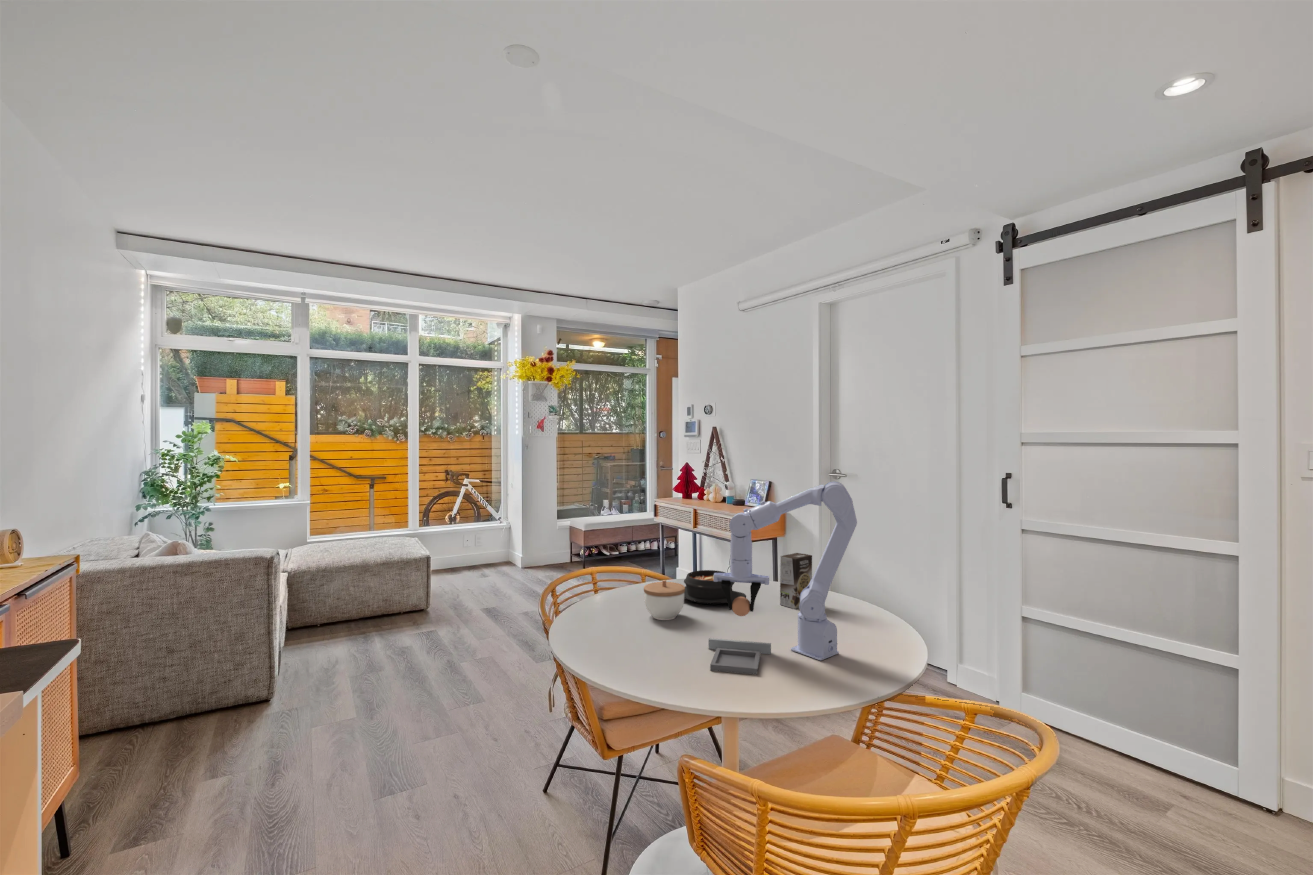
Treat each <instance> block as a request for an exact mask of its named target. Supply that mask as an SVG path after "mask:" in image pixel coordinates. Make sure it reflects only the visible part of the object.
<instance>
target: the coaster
mask: <svg viewBox="0 0 1313 875" xmlns="http://www.w3.org/2000/svg"><path fill="white" fill-rule="evenodd" d="M760 660H761V653H760V652H759V651H747V650H736V649H724V648H716V650H714V654H713V656H712V659H711V662H710V666H709V670H710V671H715V672H723V673H736V674H746V675H754V676H755V675H758V672H759V667H760V666H759V665H760Z"/></svg>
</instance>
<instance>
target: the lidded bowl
mask: <svg viewBox="0 0 1313 875" xmlns="http://www.w3.org/2000/svg"><path fill="white" fill-rule="evenodd" d="M643 595H644V596H643V597H644V598H643V600H644V605H645V607H646V610H647V612H648V613H649V614H650V615H651V616H652V618H653V619H655V620H659V621H670V620H675V619H676V618H677V616H678V615H679V614H680V613H681V611H682V610H683V607H684V604H685V603H684V602H685V598H684V596H685V585H684V584H682V583H678V582H674V581H667V580H666V579H663V580H662V581H656V582H650V583H647V584H645V585H644V586H643Z"/></svg>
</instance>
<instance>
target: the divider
mask: <svg viewBox="0 0 1313 875" xmlns="http://www.w3.org/2000/svg"><path fill="white" fill-rule="evenodd" d="M716 648H724V649H736V650H747V651H759V652H760V655H761V654H763V655H772V643H771V642H761V641H749V640H748V641H747V640H737V639H723V638H714V637H713V638H711V637H710V638H708V650H714V651H716Z"/></svg>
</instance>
